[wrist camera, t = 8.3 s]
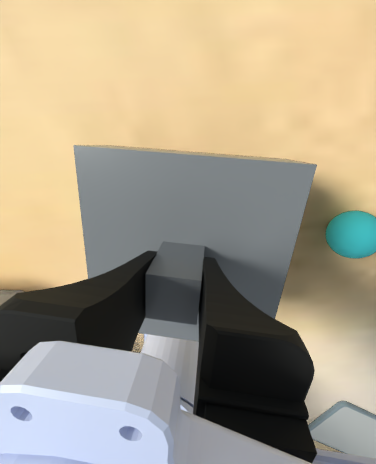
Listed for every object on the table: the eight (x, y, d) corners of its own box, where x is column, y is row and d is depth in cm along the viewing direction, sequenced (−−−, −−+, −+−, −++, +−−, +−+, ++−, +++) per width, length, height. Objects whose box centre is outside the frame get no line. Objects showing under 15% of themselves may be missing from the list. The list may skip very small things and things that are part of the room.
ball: (357, 249, 21) (385, 270, 17) (313, 243, 22) (331, 263, 18) (373, 208, 20) (407, 222, 16) (325, 203, 20) (347, 215, 16)
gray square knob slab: (254, 304, 19) (280, 409, 12) (120, 286, 20) (62, 373, 13) (286, 159, 15) (363, 173, 7) (113, 145, 16) (16, 145, 8)
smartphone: (390, 474, 32) (302, 435, 31) (385, 465, 33) (299, 427, 32) (439, 447, 29) (344, 403, 28) (432, 438, 30) (340, 395, 29)
